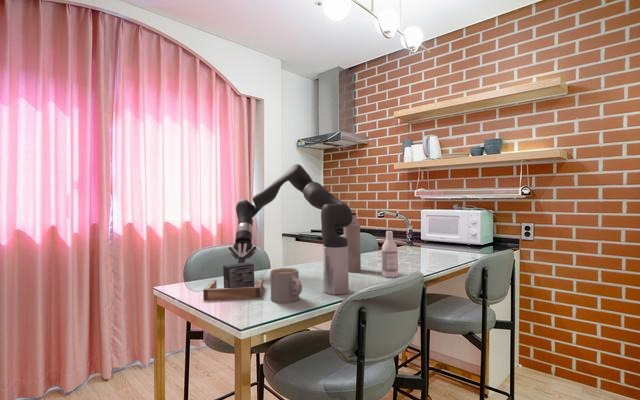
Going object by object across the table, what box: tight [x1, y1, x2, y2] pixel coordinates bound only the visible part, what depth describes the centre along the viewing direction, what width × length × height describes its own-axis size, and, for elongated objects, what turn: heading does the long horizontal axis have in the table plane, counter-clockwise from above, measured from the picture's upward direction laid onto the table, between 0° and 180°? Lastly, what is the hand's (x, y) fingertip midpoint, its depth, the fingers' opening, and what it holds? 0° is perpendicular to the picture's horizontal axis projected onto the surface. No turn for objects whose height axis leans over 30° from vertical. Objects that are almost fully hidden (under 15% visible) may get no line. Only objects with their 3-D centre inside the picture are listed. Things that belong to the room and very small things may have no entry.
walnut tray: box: [202, 277, 264, 301], centre depth 134 cm, size 16×20×4 cm
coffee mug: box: [269, 267, 303, 304], centre depth 123 cm, size 13×10×10 cm
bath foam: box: [381, 230, 399, 278], centre depth 157 cm, size 7×7×20 cm
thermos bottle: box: [343, 212, 362, 273], centre depth 170 cm, size 8×8×28 cm
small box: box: [222, 261, 256, 288], centre depth 137 cm, size 11×6×10 cm, turn 125°
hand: (241, 265), depth 152 cm, fingers closed
